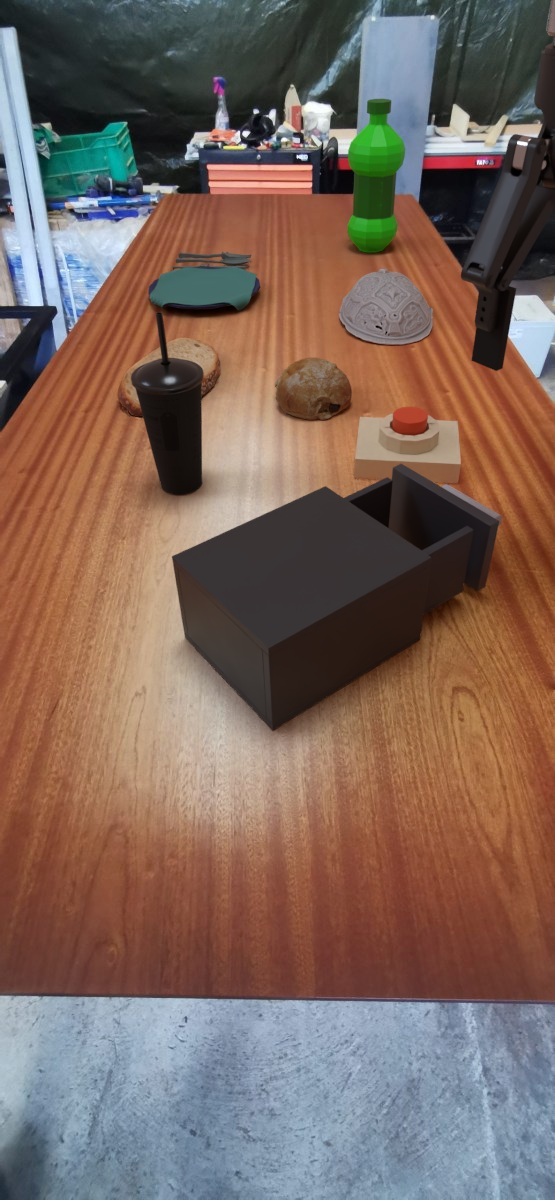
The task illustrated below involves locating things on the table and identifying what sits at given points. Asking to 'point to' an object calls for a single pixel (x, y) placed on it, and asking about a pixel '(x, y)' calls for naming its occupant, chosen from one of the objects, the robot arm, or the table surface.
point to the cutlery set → (206, 283)
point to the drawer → (435, 529)
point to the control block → (408, 450)
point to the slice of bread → (176, 349)
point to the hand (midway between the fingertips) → (538, 342)
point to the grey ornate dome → (386, 309)
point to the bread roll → (313, 389)
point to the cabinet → (301, 601)
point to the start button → (409, 421)
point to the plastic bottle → (375, 179)
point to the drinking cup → (172, 417)
